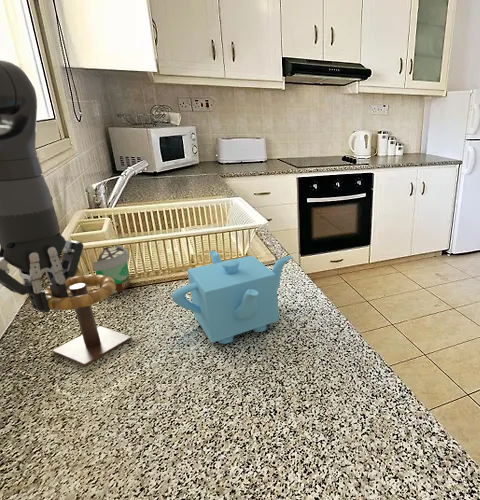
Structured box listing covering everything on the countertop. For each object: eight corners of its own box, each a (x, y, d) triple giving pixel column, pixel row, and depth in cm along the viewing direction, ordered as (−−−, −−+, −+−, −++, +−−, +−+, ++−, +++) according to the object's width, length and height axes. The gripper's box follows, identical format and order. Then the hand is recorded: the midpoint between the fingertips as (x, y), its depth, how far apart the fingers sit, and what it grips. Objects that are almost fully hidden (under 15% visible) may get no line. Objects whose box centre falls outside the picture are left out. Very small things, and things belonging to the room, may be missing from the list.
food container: (132, 298, 89) (123, 259, 85) (102, 302, 87) (92, 262, 83) (138, 276, 99) (131, 241, 96) (111, 280, 97) (103, 244, 94)
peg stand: (54, 357, 68) (32, 291, 63) (101, 331, 76) (86, 271, 71) (86, 371, 65) (67, 303, 60) (133, 343, 73) (119, 280, 68)
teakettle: (171, 346, 72) (159, 277, 66) (217, 299, 89) (210, 241, 84) (265, 357, 70) (261, 287, 64) (294, 307, 87) (292, 248, 81)
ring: (26, 303, 63) (22, 292, 63) (90, 278, 73) (88, 268, 72) (67, 318, 59) (64, 307, 59) (130, 289, 69) (128, 279, 68)
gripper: (55, 194, 63) (80, 286, 69) (-53, 214, 51) (-11, 322, 58) (84, 199, 60) (107, 294, 67) (-22, 222, 49) (18, 334, 55)
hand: (52, 307), depth 62 cm, fingers closed on ring, 2 cm apart
